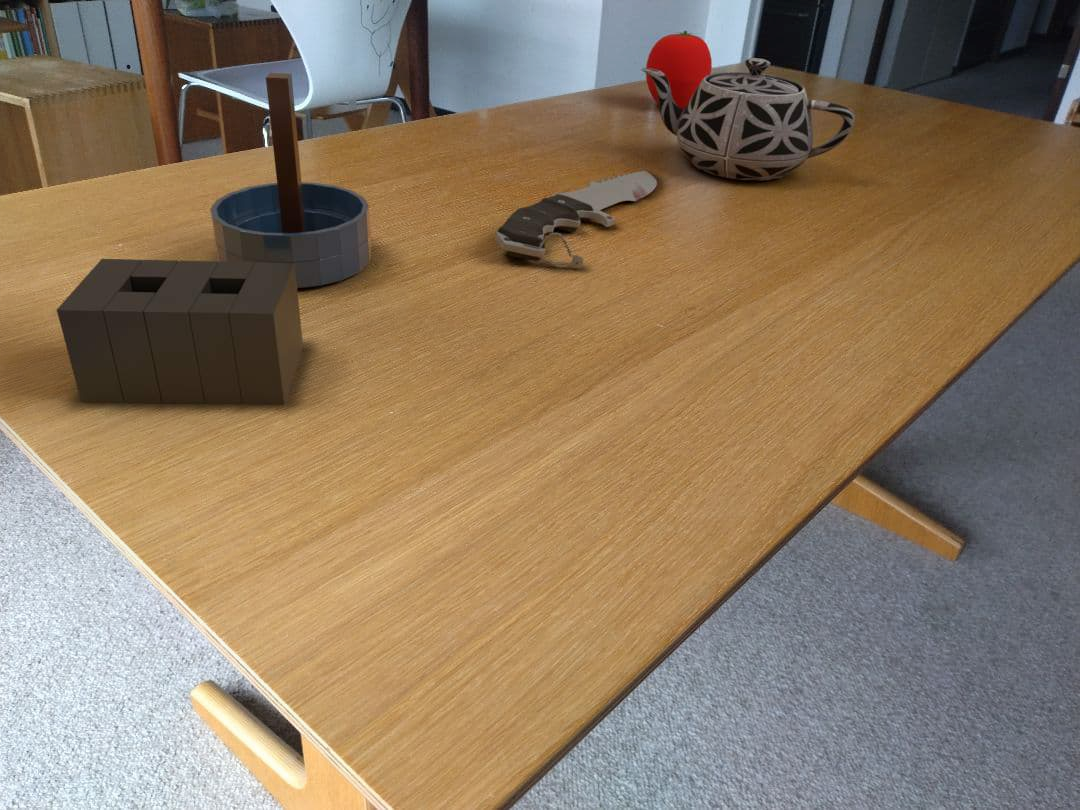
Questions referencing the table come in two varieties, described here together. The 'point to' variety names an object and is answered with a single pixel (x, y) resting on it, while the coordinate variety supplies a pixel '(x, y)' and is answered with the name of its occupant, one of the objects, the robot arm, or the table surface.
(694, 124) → the teapot
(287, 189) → the stick
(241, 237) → the bowl
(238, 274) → the holder
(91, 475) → the table surface
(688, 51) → the tomato
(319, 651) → the table surface
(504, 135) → the table surface
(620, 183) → the knife
